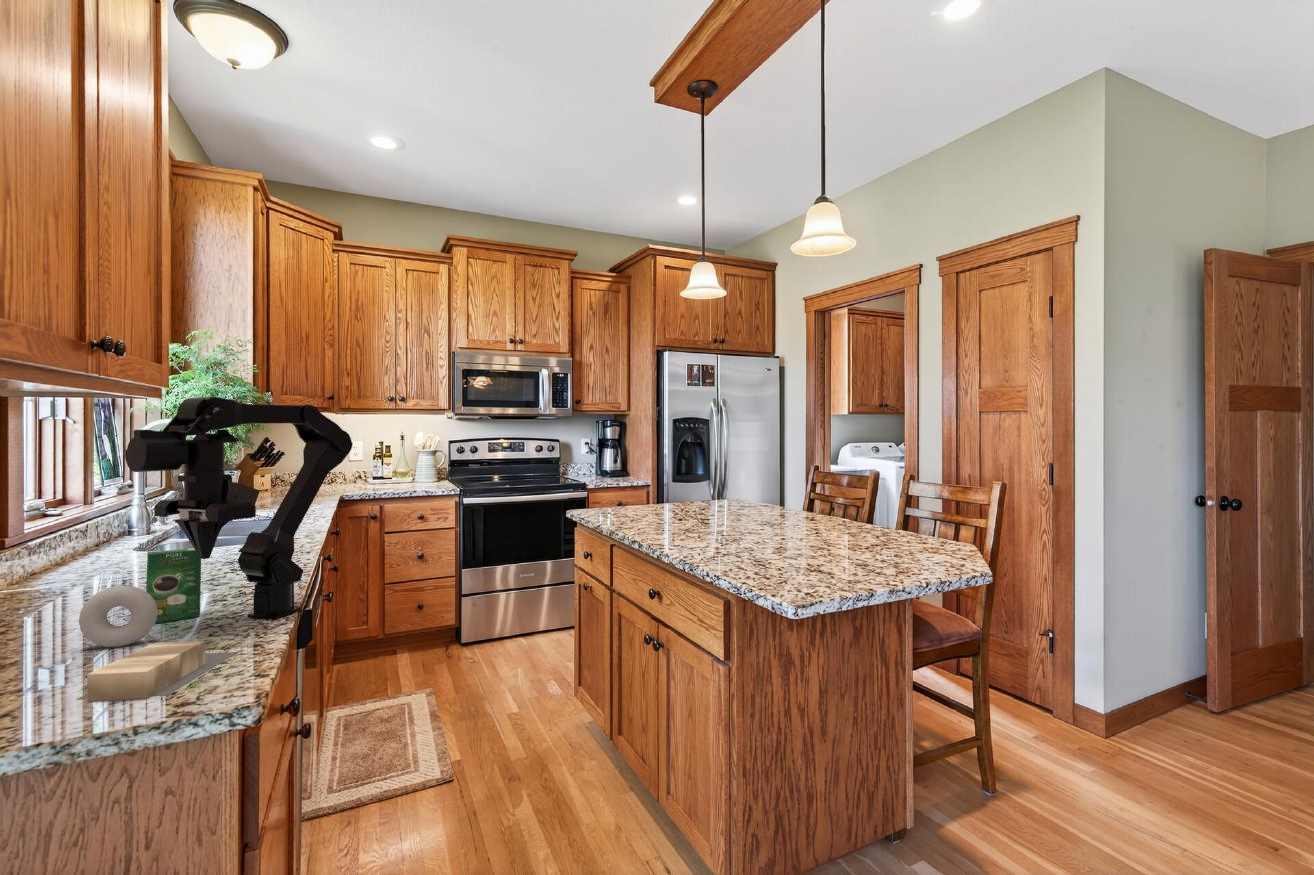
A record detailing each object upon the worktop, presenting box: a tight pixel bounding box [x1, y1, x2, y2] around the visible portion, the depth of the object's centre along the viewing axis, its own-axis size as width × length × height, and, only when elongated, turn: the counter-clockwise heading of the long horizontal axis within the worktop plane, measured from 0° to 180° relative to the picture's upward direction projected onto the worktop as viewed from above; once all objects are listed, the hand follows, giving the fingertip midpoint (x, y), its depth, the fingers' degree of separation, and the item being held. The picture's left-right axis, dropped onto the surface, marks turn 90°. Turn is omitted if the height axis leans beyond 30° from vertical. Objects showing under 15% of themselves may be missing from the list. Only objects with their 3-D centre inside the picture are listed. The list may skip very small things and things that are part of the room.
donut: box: [78, 584, 158, 648], centre depth 99 cm, size 10×4×10 cm, turn 114°
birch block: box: [86, 640, 206, 702], centre depth 84 cm, size 4×7×12 cm
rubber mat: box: [76, 651, 239, 701], centre depth 87 cm, size 16×11×1 cm
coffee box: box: [145, 547, 202, 624], centre depth 114 cm, size 8×3×13 cm, turn 133°
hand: (205, 558), depth 105 cm, fingers closed
